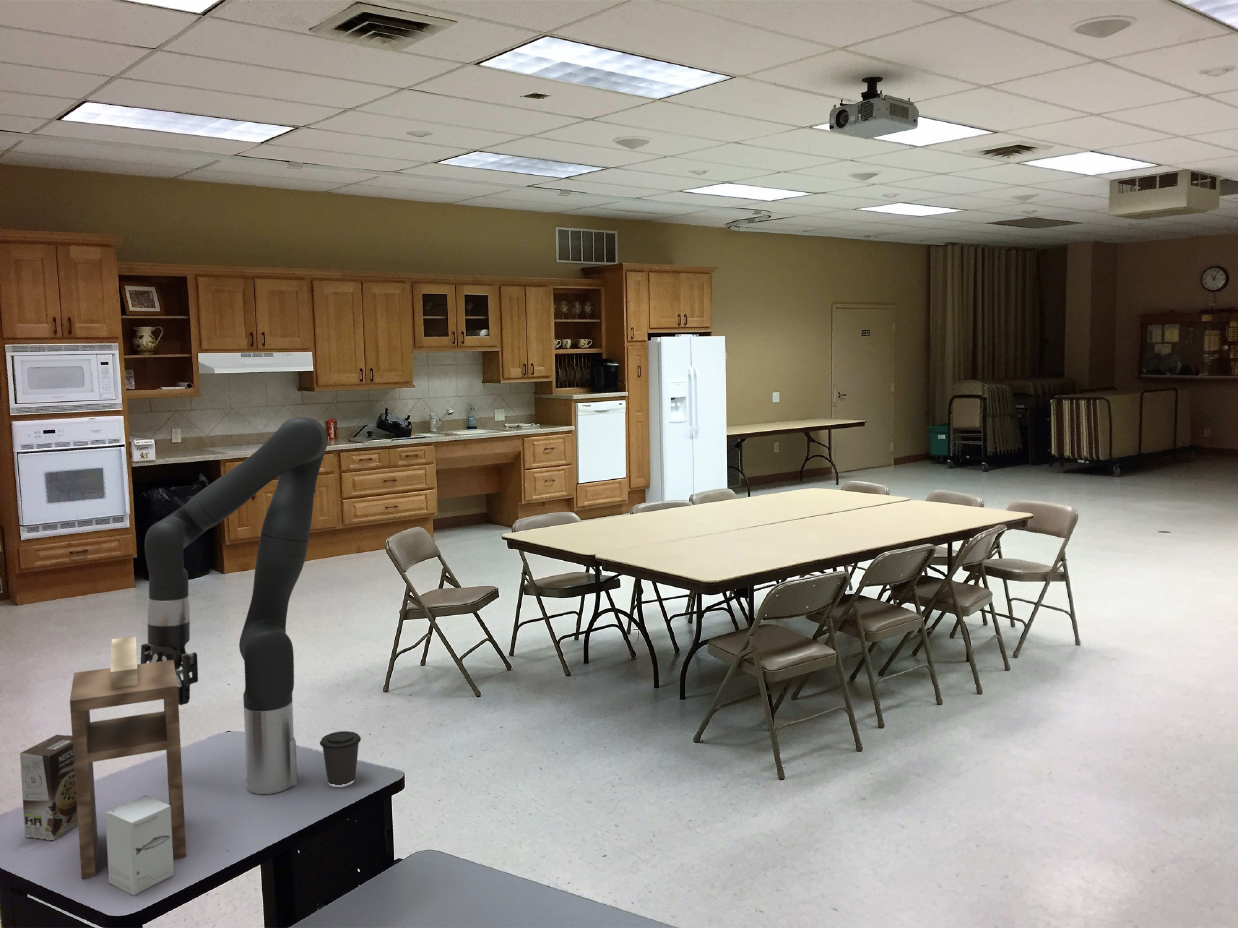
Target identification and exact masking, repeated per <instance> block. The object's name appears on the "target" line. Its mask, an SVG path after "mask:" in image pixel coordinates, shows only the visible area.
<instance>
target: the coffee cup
mask: <svg viewBox="0 0 1238 928" xmlns="http://www.w3.org/2000/svg"><path fill="white" fill-rule="evenodd" d="M361 741H362V737H361V736H360V734H359V733H357V732H354V731H350V730H347V731H346V730H344V731H335V732H332V733H328V734H326V735H324V736H323V737H321V740H320V741H319V745H320V747H321V748H322V751H323V759H324V764H325V766H324V767H325V770H326V778H327V779H326V780H327V783H328V782H329V783H330V784H335V785H342V784H347V783H349V782H351V781H353V780H354V779H355V780H356V778H355V777H356V776H357V775H356V774H357V765H358V754H359V744H360V742H361Z"/></svg>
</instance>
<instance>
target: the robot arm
mask: <svg viewBox="0 0 1238 928" xmlns="http://www.w3.org/2000/svg"><path fill="white" fill-rule="evenodd" d="M328 439H329V438H328V434H327V431H326V429H325V427H324V425H322V424H321V423H320V422H319V421H318V420H316V419H314V418H312V417H307V416H299V417H292V418H289V419H288V420H285V421H284V423H282V424H281V425H280V427H279V428H278V429H277V430H276V431H275V432H274V433H273V434H272V435H271V436H270V438H268V440H266V441H265V442H264V443H263V444H262V445H261V446H260V447H259V448H258V449H257V450H256V451H255V452H253V453H252V454H251V455H250V456H249V457H248V458H246V459H245V460H243V461H242V462H240V463H239V464H238V465H236V466H235V467H232V469H231V470H229V471H228V472H225V474H223V475H222V476H220V477H219V478H217V479H216V480H214V481H213V482H211V483H210V484H209V485H207V486H205V487H204V488H203V489H202V490H200V491H199V492H197V493H195V494H194V496H192V497H191V498H190V499H189V500H188V501H187V502H186V503H185V504H183V505H182V506H181V507H179V508H178V509H176V510H175V511H173V512H171V513H170V514H169V515H167V516H166V517H164V518H162V519H161V520H160V521H157V522H155V523H153V524H152V525H151V526H150V527H149V529H147V532H146V534H145V538H144V553H145V554H144V555H145V561H146V566H147V570H148V574H149V575H148V576H149V578H148V604H147V643H143V644H141V645H140V664H145V663H153V662H161V661H169V660H174V666H175V673H176V679H177V686H178V706H183V705H186V704H188V703H189V702H190V699H191V696H190V695H191V685H192V684H195V683H198V682H199V668H198V666H199V665H198V654H197V652H196V651H195V652H191V653H188V652H187V651H186V645H187V643H189V641H190V639H191V638H190V633H191V630H190V629H191V623H190V620H191V618H190V617H191V616H190V615H191V614H190V613H191V611H190V610H191V609H190V608H191V607H190V600H189V575H188V574H189V573H188V571H187V569H186V568H185V566H184V563H185V562H184V561H185V560H184V549H186V548H187V547H188V546H189V545H190V544H192V543H193V542H194V541H195V540H196V539H198V538H199V537H200V536H202V535H203V534H204V533H205V532H206V531H208V530H209V529H211V528H213V527H215V526H217V525H218V524H219V523H221V522H223V520H225V519H227V518H228V517H229V516H230V515H232V514H233V513H235V512H236V511H237V510H239V509H240V508H242V506H244V505H245V504H246V503H247V502H248V501H249V500H250V499H251V498H252V497H253V496H255V495H256V494H257V493H258V492H259V491H260V490H261V489H263V488H264V487H265V486H266V485H268V484H270V483H271V482H272V481H273V480H275V479H277V478H278V480H277V484H276V488H275V491H274V493H273V495H272V497H271V498H272V499H271V500H270V504H269V506H268V508H267V512H266V514H265V517H264V518H263V519H264V520H263V522H262V527H261V532H260V536H259V542H258V548H257V553H256V554H257V555H256V561H255V569H254V576H253V586H252V587H253V588H252V595H251V599H250V605H249V606H248V607H249V608H248V611H247V614H246V618H245V620H244V623H243V624H244V625H243V628H242V631H241V635H240V638H239V643H238V645H239V652H240V655H241V657H242V659H243V661H244V691H243V695H242V698H243V716H244V717H243V721H244V740H245V742H244V744H245V745H244V746H245V764H246V765H245V766H246V767H245V768H246V785H247V787H246V788H247V790H248V791H249V792H250V793H253V794H258V795H270V794H271V795H272V794H277V793H280V792H283V791H286V790H288V789H290V788H291V787H295V785H296V786H298V771H297V770H298V769H297V767H298V766H297V744H296V739H295V735H294V734H295V732H294V711H293V710H294V708H293V706H294V705H293V691H294V688H295V663H294V661H295V659H294V646H293V642H292V639H291V638H290V637H289V635H288V634H287V632H286V630H287V617H288V607H289V602H290V598H291V595H292V592H293V591H294V588H295V586H296V583H297V582H298V580H299V577H300V575H301V574H302V573H301V572H302V570H303V568H304V564H305V563H306V562H305V561H306V557H307V551H308V545H309V541H310V534H311V527H312V520H313V513H314V512H313V511H314V498H315V491H316V485H317V480H318V477H319V473H320V469H321V466H322V462H323V460H324V456H325V454H326V453H325V452H326V450H327V446H328V442H329V441H328ZM180 668H181V669H180ZM190 673H191V675H190Z"/></svg>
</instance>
